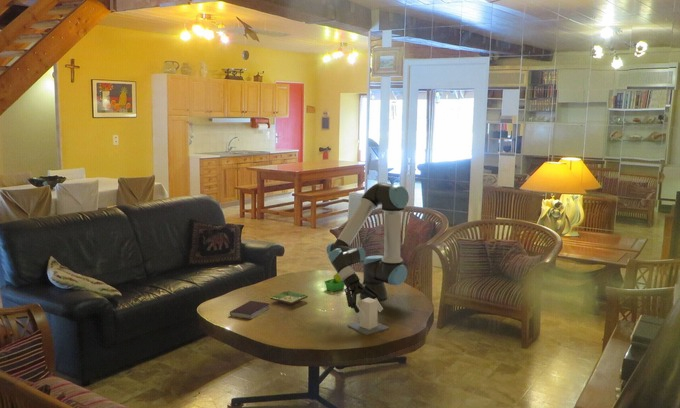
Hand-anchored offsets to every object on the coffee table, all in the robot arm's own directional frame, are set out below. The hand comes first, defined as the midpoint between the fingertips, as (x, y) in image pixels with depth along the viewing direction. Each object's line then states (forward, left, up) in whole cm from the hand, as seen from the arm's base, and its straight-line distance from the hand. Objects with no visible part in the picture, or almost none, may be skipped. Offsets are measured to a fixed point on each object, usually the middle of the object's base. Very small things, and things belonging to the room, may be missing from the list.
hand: (372, 314), depth 281 cm
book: (+36, -55, -8) cm, 66 cm away
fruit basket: (-24, -60, -8) cm, 65 cm away
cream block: (0, -2, -7) cm, 7 cm away
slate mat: (0, -2, -7) cm, 8 cm away
